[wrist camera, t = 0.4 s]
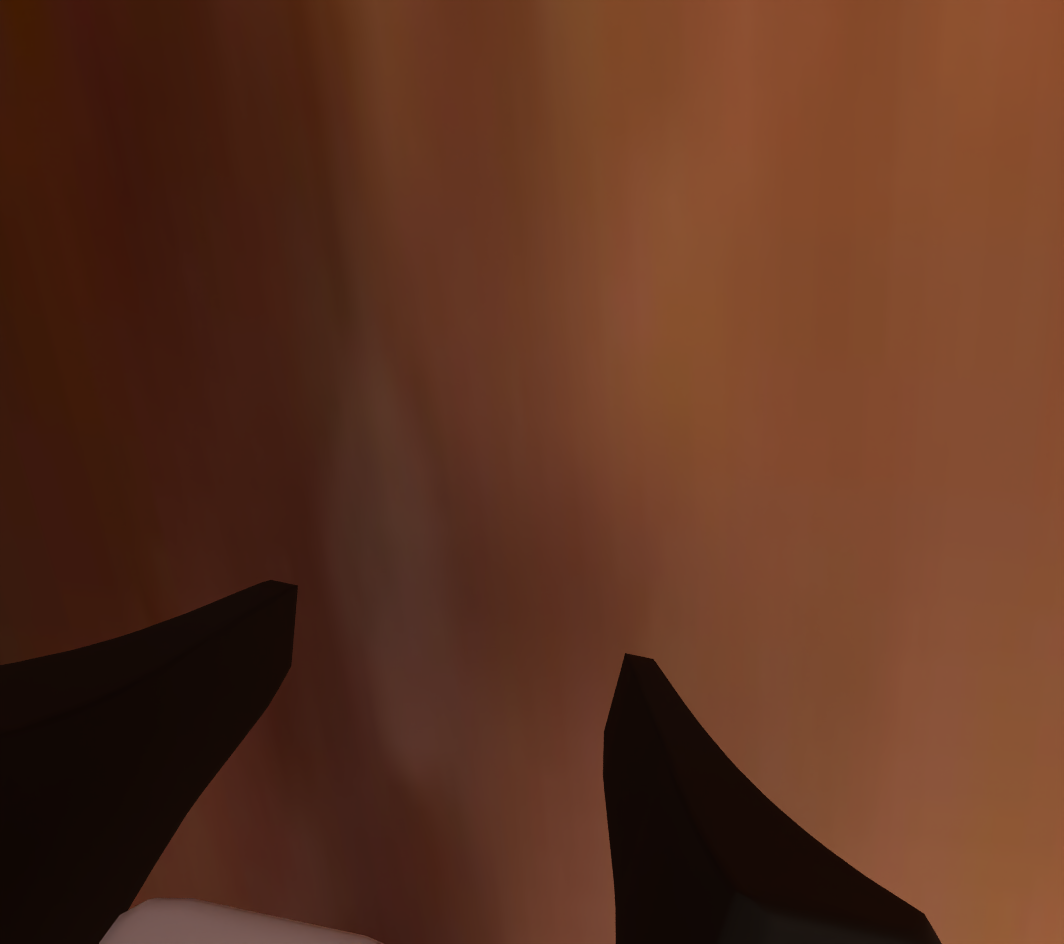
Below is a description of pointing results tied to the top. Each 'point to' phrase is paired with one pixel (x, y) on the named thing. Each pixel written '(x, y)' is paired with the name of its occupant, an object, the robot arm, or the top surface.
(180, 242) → the top surface
